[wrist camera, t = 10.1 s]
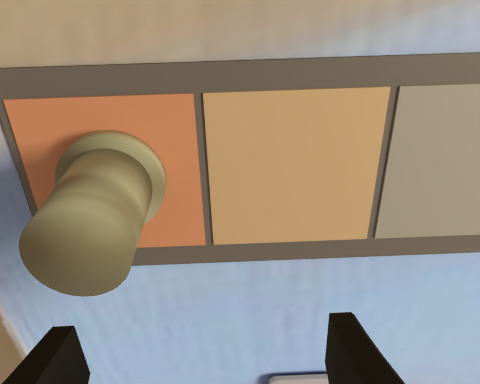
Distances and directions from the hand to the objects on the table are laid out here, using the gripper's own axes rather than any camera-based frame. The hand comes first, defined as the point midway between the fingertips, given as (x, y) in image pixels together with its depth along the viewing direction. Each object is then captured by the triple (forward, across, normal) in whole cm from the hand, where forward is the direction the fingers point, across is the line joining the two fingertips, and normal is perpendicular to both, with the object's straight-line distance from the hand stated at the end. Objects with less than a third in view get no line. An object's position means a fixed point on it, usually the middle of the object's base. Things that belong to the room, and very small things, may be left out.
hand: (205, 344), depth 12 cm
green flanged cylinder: (+8, +4, -1) cm, 9 cm away
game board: (+8, -4, -1) cm, 9 cm away
